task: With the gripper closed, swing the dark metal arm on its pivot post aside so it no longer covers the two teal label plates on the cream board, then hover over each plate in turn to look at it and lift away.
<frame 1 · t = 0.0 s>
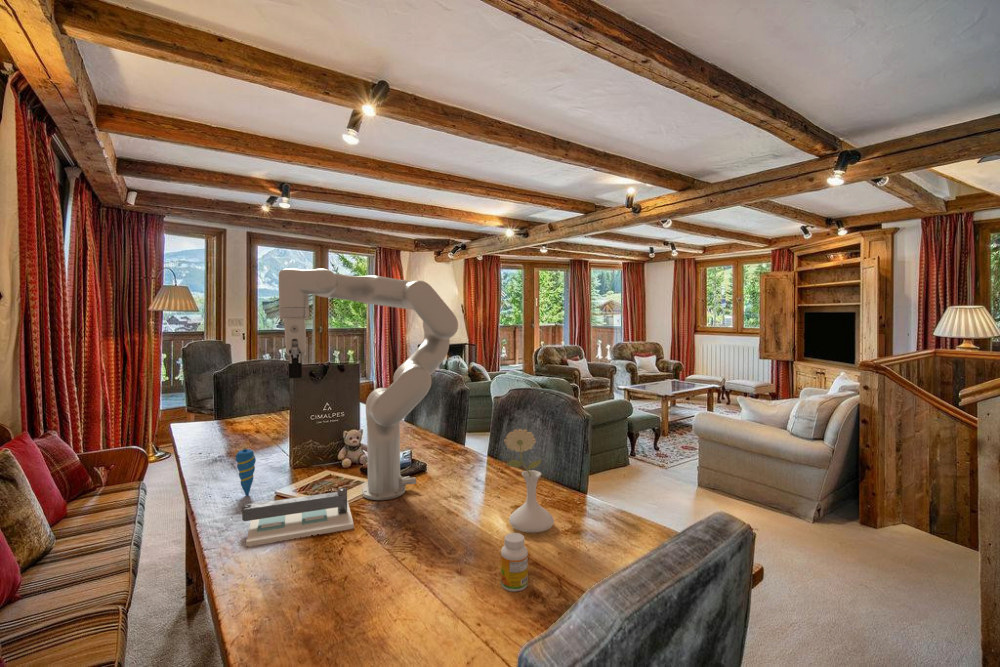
hand: (295, 375, 133), 37 cm above the table, tool pointing down, fingers open, 9 cm apart
ornament: (246, 495, 142), on the table
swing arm: (296, 507, 122), point 5 cm above the table, hinge at 0.0°
label board: (301, 523, 123), on the table
supplement bottle: (514, 585, 96), on the table
flower in vase: (528, 527, 121), on the table
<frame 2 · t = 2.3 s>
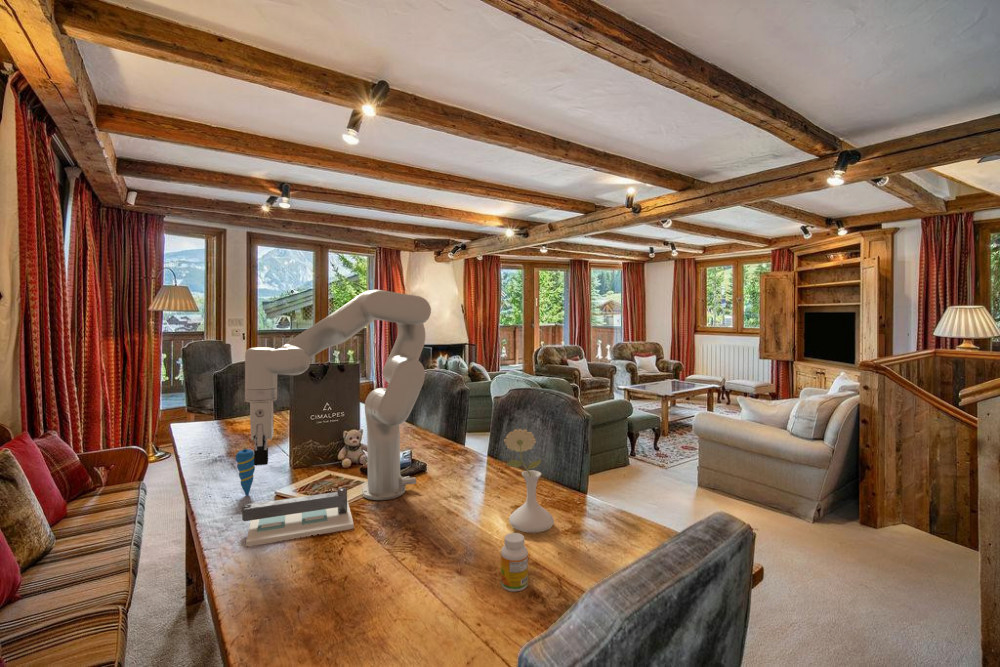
hand: (261, 464, 125), 15 cm above the table, tool pointing down, fingers closed
nothing on the table moved.
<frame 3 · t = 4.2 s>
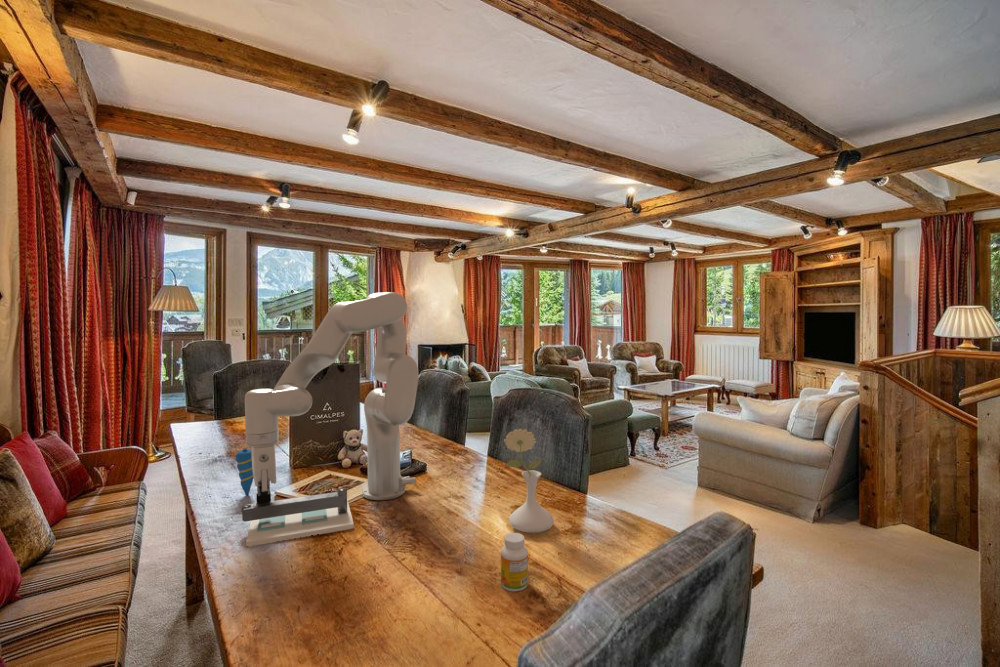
hand: (263, 508, 122), 4 cm above the table, tool pointing down, fingers closed
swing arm: (296, 507, 122), point 5 cm above the table, hinge at 0.5°, touching gripper
everything else where it was.
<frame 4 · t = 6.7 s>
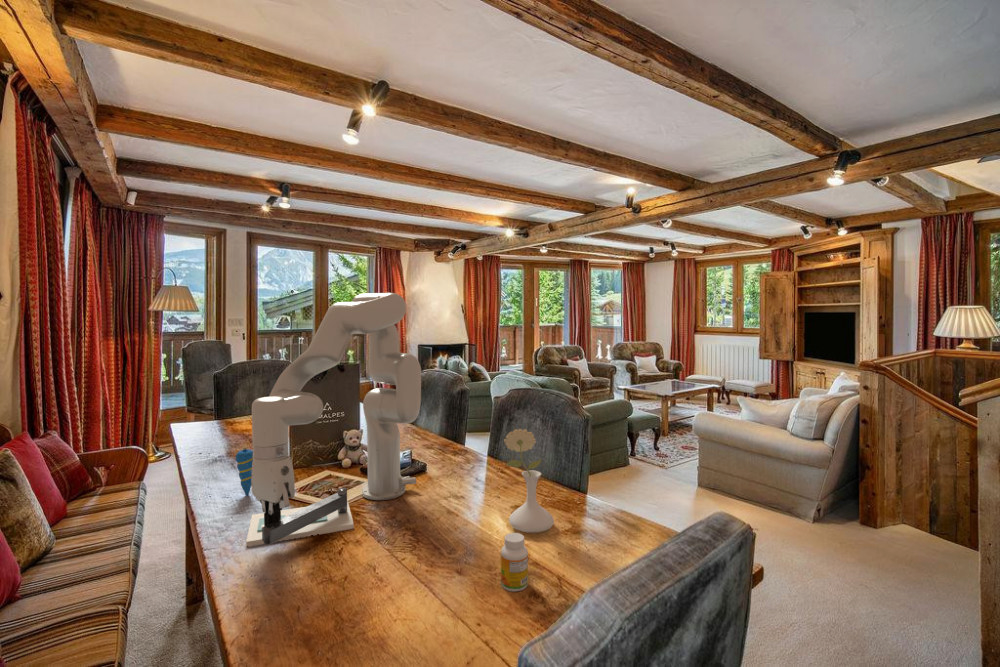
hand: (272, 528, 111), 4 cm above the table, tool pointing down, fingers closed
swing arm: (309, 516, 116), point 5 cm above the table, hinge at 41.5°, touching gripper
everything else where it was.
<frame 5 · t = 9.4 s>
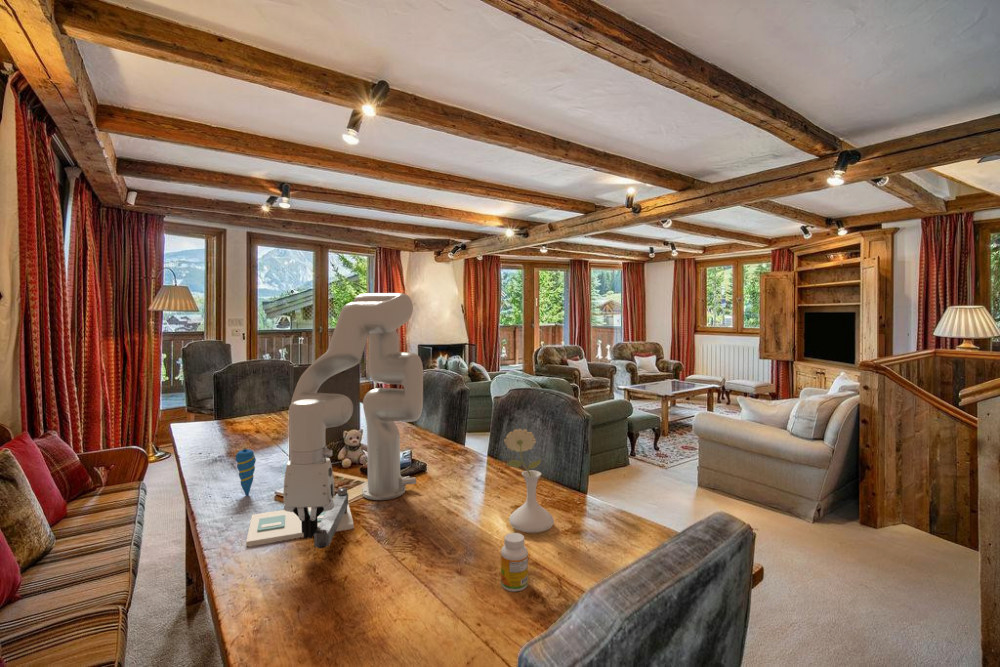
hand: (309, 535, 108), 4 cm above the table, tool pointing down, fingers closed
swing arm: (333, 518, 115), point 5 cm above the table, hinge at 74.4°
everything else where it was.
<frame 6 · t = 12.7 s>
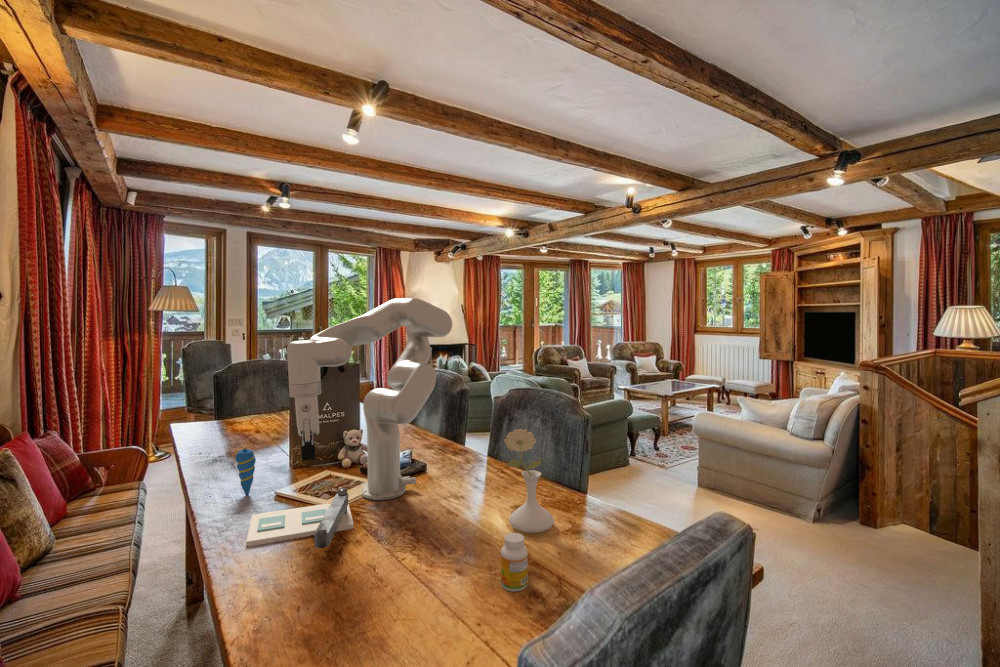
hand: (308, 459, 123), 17 cm above the table, tool pointing down, fingers closed
nothing on the table moved.
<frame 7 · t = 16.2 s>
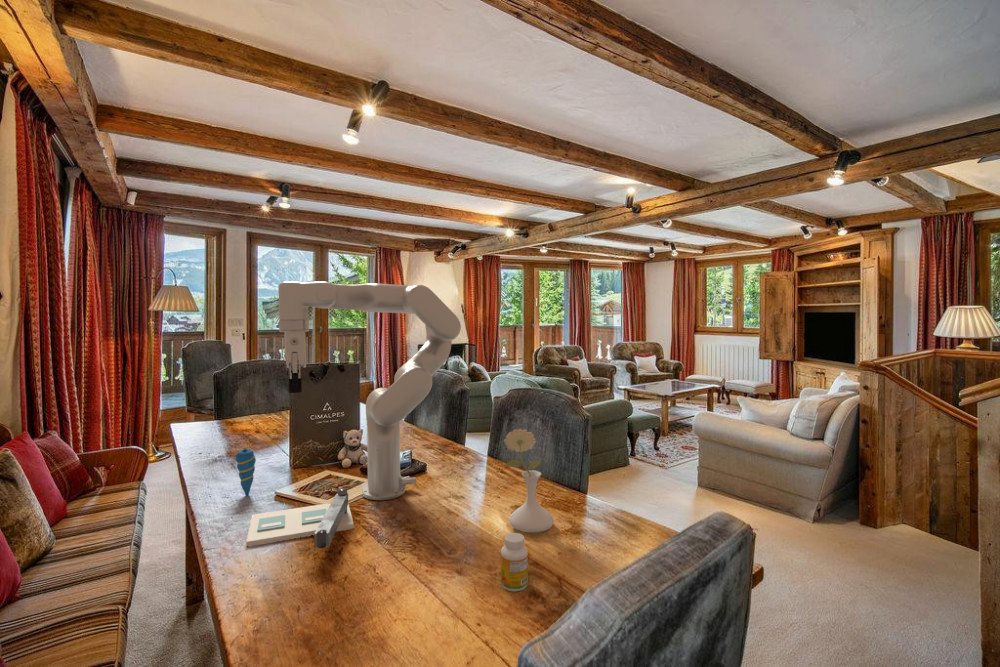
hand: (295, 392, 133), 32 cm above the table, tool pointing down, fingers closed
nothing on the table moved.
at the end: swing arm at +74° (first picture: +0°); ornament moved 0.2 cm from its start; ornament tilted 0° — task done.
